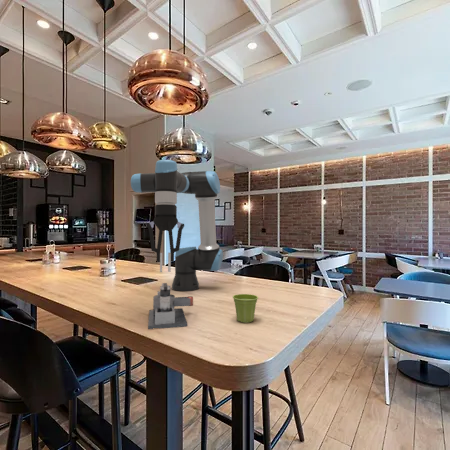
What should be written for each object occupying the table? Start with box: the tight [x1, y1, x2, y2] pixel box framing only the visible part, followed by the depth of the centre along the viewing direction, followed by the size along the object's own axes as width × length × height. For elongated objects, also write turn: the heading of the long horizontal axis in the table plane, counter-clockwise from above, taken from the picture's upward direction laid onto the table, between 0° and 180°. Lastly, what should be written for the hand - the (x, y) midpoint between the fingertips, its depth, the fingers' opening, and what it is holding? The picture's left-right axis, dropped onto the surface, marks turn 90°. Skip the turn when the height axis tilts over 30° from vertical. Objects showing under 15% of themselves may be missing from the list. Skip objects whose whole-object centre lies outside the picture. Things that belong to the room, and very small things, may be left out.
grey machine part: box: [152, 282, 194, 314], centre depth 109 cm, size 15×8×11 cm, turn 104°
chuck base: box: [147, 307, 188, 330], centre depth 104 cm, size 13×19×5 cm
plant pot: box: [232, 293, 259, 324], centre depth 103 cm, size 9×9×9 cm
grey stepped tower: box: [159, 282, 171, 312], centre depth 98 cm, size 4×6×13 cm, turn 14°
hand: (165, 271), depth 98 cm, fingers open, 2 cm apart
